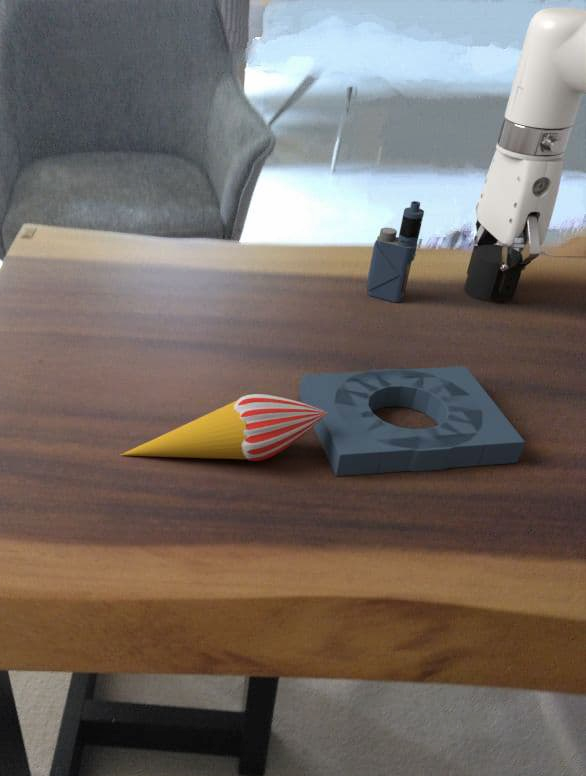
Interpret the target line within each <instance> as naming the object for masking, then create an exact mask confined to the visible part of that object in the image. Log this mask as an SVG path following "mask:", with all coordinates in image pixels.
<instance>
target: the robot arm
mask: <svg viewBox="0 0 586 776" xmlns="http://www.w3.org/2000/svg"><path fill="white" fill-rule="evenodd" d="M584 94H585V95H586V8H579V7H572V6H553V7H547V8H542V9H540V10H539V11H537V12H536V13H535V14H534V15H533V17H532V18H531V19H530V22H529V24H528V27H527V30H526V34H525V37H524V41H523V44H522V49H521V52H520V55H519V60H518V63H517V67H516V70H515V74H514V78H513V82H512V86H511V90H510V93H509V97H508V101H507V104H506V108H505V111H504V116H503V119H502V123H501V126H500V130H499V134H498V137H497V142H496V145H495V152H494V155H493V157H492V160H491V163H490V165H489V168H488V171H487V174H486V177H485V181H484V183H483V187H482V190H481V192H480V193H481V194H480V196H479V201H478V202H477V204H476V205H475V213H476V222H475V227H476V228H475V229H476V233H475V235H474V238H473V248H472V252H471V255H470V260H469V263H468V267H467V270H466V275H468V272H469V268H470V265H471V261H472V257H473V254H474V250H475V249H476V248H477V247H479V246H482V245H497V243H498V242H500V243H501V245H502V246H503V248H502V257H501V268H496V272H495V275H494V278H493V282H492V285H491V288H490V292H489V295H488V297H489V298H490V299H491V300H500V299H507V300H511V299H512V300H513V298H514V297H515V294H516V290H517V288H518V285H519V282H520V278H521V276H522V272H523V271H525V270H526V268H527V266H528V265H530V264H531V262H532V261H534V260H535V259H537V258H538V257H539V256H540V254H541V246H542V245H543V244H544V241H545V239H546V237H547V234H548V231H549V227H550V223H551V220H552V217H553V214H554V209H555V207H556V202H557V198H558V194H559V189H560V185H561V180H562V179H561V178H562V174H563V165H564V160H563V157H564V155H565V151H566V149H567V145H568V142H569V140H570V136H571V133H572V130H573V126H574V124H575V120H576V118H577V114H578V111H579V108H580V105H581V102H582V99H583V95H584ZM516 239H521V241H520V242H515V240H516ZM512 248H513V249H518V251H519V254H515V255H514V256H513V257H512V258H510V257H511V249H512Z"/></svg>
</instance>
